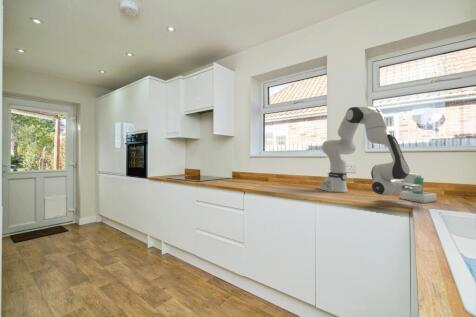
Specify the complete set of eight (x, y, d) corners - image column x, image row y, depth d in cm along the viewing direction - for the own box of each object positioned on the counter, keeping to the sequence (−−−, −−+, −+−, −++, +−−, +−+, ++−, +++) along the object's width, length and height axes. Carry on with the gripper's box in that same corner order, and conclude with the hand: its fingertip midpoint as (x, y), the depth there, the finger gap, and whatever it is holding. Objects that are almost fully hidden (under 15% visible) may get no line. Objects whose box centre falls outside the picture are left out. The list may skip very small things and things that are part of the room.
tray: (399, 198, 149) (399, 191, 149) (411, 196, 155) (411, 190, 155) (424, 202, 136) (424, 195, 136) (436, 201, 142) (436, 193, 142)
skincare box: (402, 194, 162) (402, 173, 162) (404, 193, 167) (405, 172, 166) (416, 196, 156) (417, 174, 155) (419, 195, 160) (419, 173, 160)
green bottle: (410, 197, 147) (412, 174, 146) (414, 197, 149) (416, 174, 148) (419, 199, 142) (421, 175, 142) (423, 198, 145) (425, 175, 144)
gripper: (414, 183, 125) (427, 182, 131) (377, 179, 143) (390, 178, 149) (414, 194, 125) (427, 193, 131) (377, 189, 143) (390, 187, 150)
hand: (407, 185), depth 140 cm, fingers open, 8 cm apart
